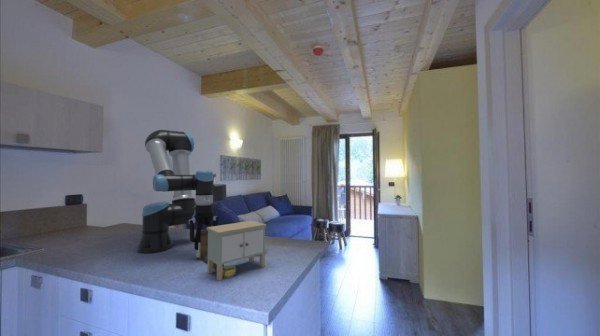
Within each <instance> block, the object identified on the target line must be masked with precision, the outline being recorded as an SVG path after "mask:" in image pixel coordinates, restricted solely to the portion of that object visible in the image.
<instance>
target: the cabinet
mask: <svg viewBox="0 0 600 336" xmlns="http://www.w3.org/2000/svg"><path fill="white" fill-rule="evenodd" d="M266 227H267V224H266V223H262V222H260V221H255V220H248V221H247V220H246V221H241V222H235V223H234V222H233V223H227V224H226V223H225V224H221V225H217V226H213V225H212V226H211V227H207V228H206V230H208V264H207V271H206V272H207V273H208V274H212V273H213V272H214V268H213V262H214V263H215V264H217V270H216V280H217V281H218V282H219V281H223V278H222V267H223V264H224V265H226V264H229V263H230V264H231V263H233V262H237V261H241V260H244V259H248V261H249V262H250V263H252V262H255V257H257V256H259V268H264V267H266V266H265V265H266V263H265V262H266V260H265V259H266Z"/></svg>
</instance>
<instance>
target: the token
mask: <svg viewBox="0 0 600 336" xmlns="http://www.w3.org/2000/svg"><path fill="white" fill-rule="evenodd" d="M236 276H237V266H236V265H234V264H233V265H232V264H228V265H224V266H223V267H222V279H230V278H231V279H232V278H234V277H236Z"/></svg>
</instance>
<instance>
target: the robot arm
mask: <svg viewBox="0 0 600 336" xmlns="http://www.w3.org/2000/svg"><path fill="white" fill-rule="evenodd" d="M194 146H195V142H194V137H193V135H192V134H190V133H189V132H185V131H177V130H169V129H168V130H166V129H157V130H155V131H152V132H150V133H149V134H148V136H147V137H146V139H145V143H144V148H145V150H146V151H147V152H148V153H149V155H150V159H151V163H152V165H153V169H154V172H155V175H154V176H153V178H152V188H153V190H154V192H162V193H163V192H164V193H165V192H174V198H173V199H172V200H171V203H170V202H169V201H167V200H166V201H157V202H156V201H155V202H152V203H148V204H146V205H144V206H143V208H142V214H141V216H142V222H141V223H142V226H141V227H142V230H141V231H142V232H141V233H142V234H141V237H140V240H139V243H138V246H137V252H138V253H141V254H153V253H160V252H163V251H168V250H170V249H171V248H173V241H172V238H171V236H170V235H171V234H170V232H169V228H170V227H172V226H181V225H189V242H192V243H194V250H195V251H196V252H195V253H196V255H195V256H196V257H198V258H200V242H199V238H200V233H201V231H202V228H203V226H205V228H206V230H207V227H213V226H219V225H218V224H219V219H220V217H219V216H217V215H216V216H215V215H214V213H213V212H214V205H213V202H214V172H213V171H212V170H197V171H196V172H195V174H191V172H190V171H191V170H190V169H191V168H190V160H189V159H190V155H192V152H193V151H194V149H195V147H194ZM169 156H170V157H171V158H172V163H171V160H170V158H169ZM192 191H195V197H194V196H193V194H192ZM211 221H212V223H211ZM195 223H196V231H195ZM207 231H208V230H207ZM198 258H197V259H198Z"/></svg>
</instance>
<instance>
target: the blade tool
mask: <svg viewBox="0 0 600 336" xmlns="http://www.w3.org/2000/svg"><path fill="white" fill-rule="evenodd" d="M199 242H200V258H198V257H197V256H196V257H197V259H198V260H200V261H203V262H204V263H205V264H206V265H208V231H207V229H205V230H201V233H200V238H199ZM223 266H225V264H223ZM213 270H216V271H217V264H215V263H214V262H213Z"/></svg>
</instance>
